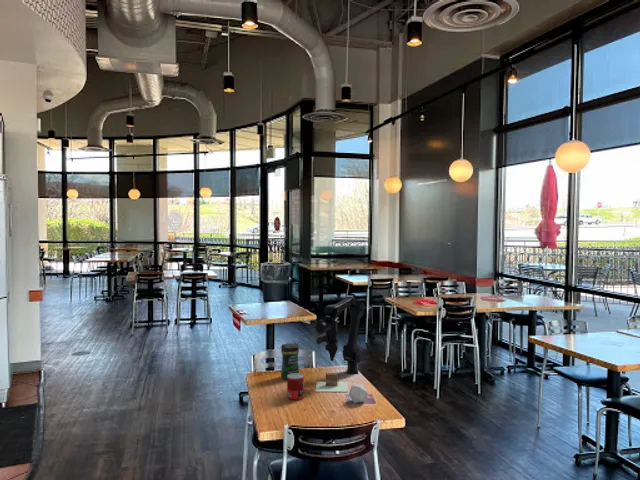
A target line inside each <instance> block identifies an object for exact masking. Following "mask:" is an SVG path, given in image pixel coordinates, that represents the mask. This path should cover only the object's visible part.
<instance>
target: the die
mask: <svg viewBox="0 0 640 480" xmlns="http://www.w3.org/2000/svg"><path fill="white" fill-rule="evenodd" d="M368 394H369V392H368V390H367V388H366V387H365V384H362V383H361V384H358V383H357V384H352V385H351V387H350V389H349V392H348V397H350V399H351V400H352V402H353V404H360V403H365V402H366V399H367V397H368Z"/></svg>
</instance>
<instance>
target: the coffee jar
mask: <svg viewBox="0 0 640 480" xmlns="http://www.w3.org/2000/svg"><path fill="white" fill-rule="evenodd" d="M280 353H281V355H282V357H281V358H282V360H281V361H282V362H281V371H280V373H281V374H280V376H281V378H282V379H284V380H287V375H288V374H291V373H300V369H299V367H300V366H299V353H300V347H299V344H298V343H296V342H293V343H292V342H291V343H284V344H282V345H281V350H280Z"/></svg>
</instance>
